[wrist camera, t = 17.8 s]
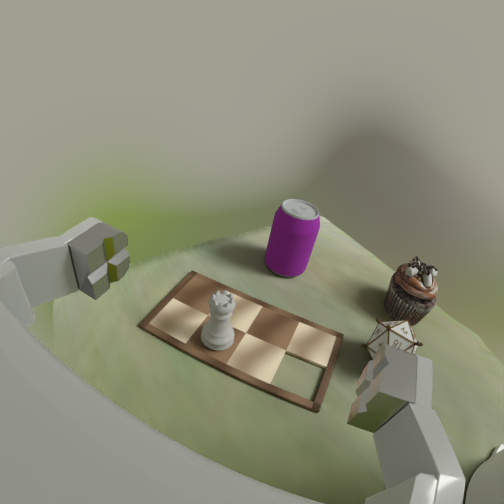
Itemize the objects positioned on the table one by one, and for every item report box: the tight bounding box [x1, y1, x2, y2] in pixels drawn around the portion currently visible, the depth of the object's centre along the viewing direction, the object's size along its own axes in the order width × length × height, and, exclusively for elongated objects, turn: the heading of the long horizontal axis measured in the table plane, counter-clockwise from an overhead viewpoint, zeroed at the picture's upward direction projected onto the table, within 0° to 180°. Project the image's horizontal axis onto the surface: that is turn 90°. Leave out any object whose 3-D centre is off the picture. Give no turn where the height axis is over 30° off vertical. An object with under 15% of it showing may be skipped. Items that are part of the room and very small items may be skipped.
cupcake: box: [384, 257, 438, 325], centre depth 49 cm, size 10×10×10 cm
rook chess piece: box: [201, 290, 236, 351], centre depth 38 cm, size 4×4×8 cm
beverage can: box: [265, 199, 320, 277], centre depth 53 cm, size 8×8×12 cm
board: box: [139, 271, 343, 413], centre depth 42 cm, size 26×14×1 cm, turn 66°
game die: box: [361, 315, 423, 360], centre depth 39 cm, size 9×8×10 cm
